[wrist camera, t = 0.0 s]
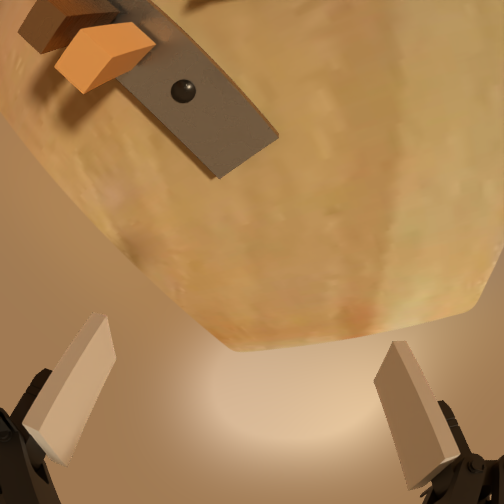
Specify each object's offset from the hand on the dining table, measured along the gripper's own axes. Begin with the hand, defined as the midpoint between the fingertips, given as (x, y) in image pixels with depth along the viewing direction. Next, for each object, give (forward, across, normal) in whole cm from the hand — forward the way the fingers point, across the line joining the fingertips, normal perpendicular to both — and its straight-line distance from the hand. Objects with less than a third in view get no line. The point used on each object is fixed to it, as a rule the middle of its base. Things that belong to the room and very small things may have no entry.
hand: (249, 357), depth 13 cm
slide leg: (+21, -15, +18) cm, 31 cm away
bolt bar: (+24, -12, +16) cm, 31 cm away
